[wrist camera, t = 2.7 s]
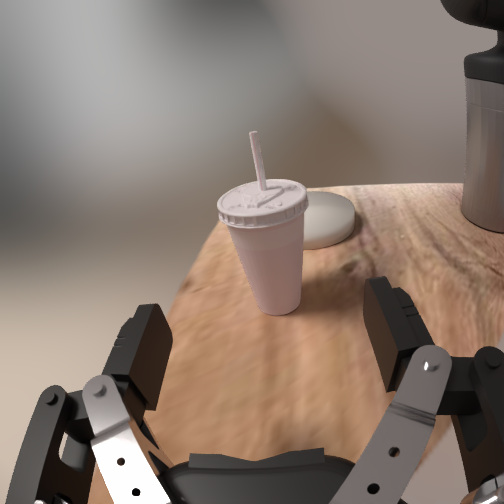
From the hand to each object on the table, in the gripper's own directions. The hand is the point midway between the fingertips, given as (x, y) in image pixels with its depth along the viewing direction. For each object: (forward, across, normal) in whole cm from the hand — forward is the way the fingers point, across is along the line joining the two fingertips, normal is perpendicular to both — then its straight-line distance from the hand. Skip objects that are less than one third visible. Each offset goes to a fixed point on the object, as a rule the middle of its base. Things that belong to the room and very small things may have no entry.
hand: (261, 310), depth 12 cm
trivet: (+24, -4, +9) cm, 26 cm away
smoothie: (+12, 0, +10) cm, 15 cm away
